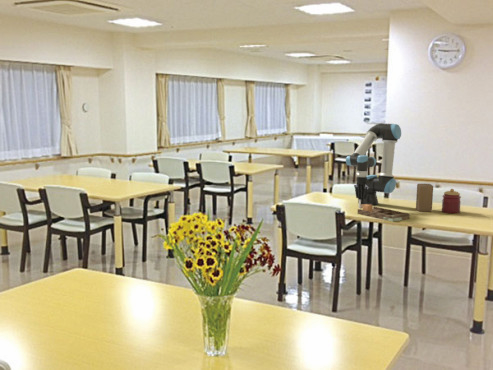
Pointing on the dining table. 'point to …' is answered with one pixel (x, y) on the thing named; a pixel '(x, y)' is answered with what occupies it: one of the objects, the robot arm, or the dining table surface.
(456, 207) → the canister
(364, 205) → the terracotta cube
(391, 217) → the trap tray
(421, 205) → the block
